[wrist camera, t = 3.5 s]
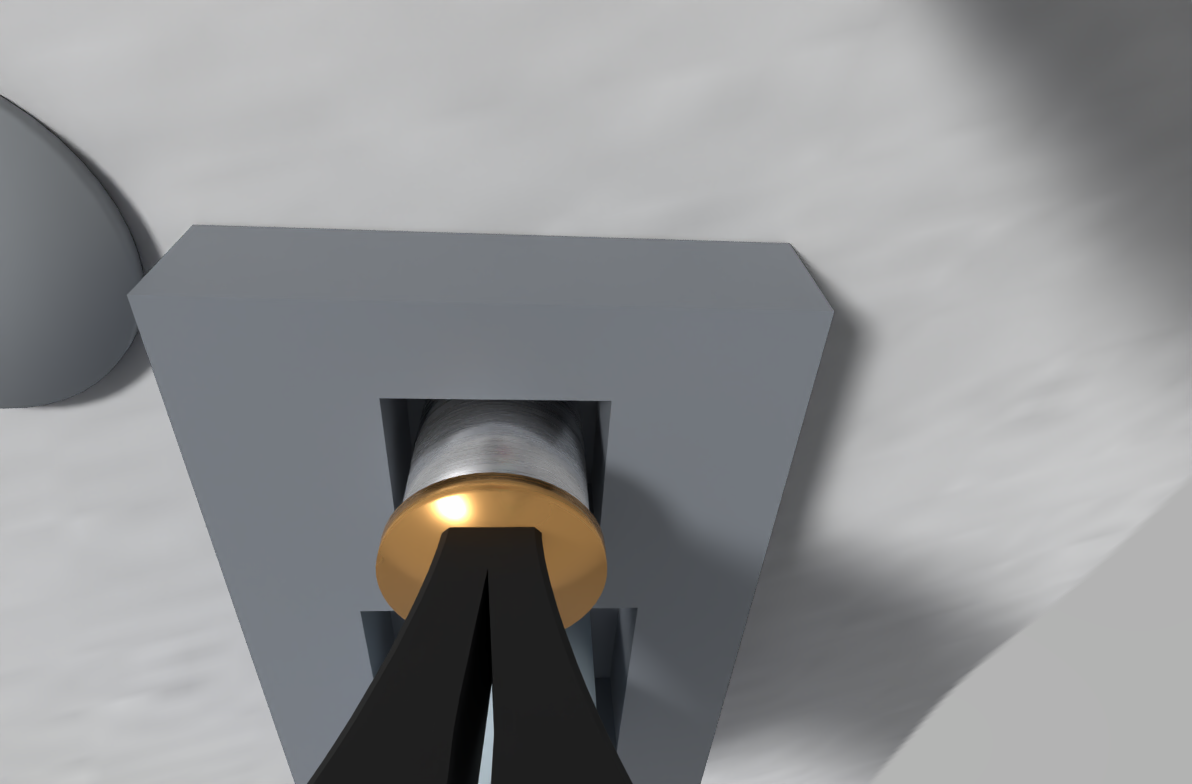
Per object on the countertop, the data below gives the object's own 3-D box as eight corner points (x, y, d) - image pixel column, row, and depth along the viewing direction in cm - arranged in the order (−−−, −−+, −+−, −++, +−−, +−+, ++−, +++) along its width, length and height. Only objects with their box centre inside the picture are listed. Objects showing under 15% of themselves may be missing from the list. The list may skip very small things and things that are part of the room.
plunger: (587, 492, 15) (600, 644, 12) (417, 491, 15) (388, 647, 12) (598, 350, 13) (615, 492, 10) (402, 347, 13) (362, 491, 10)
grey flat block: (684, 700, 21) (699, 785, 19) (323, 708, 20) (300, 799, 18) (789, 243, 13) (834, 311, 11) (193, 224, 12) (126, 294, 10)
